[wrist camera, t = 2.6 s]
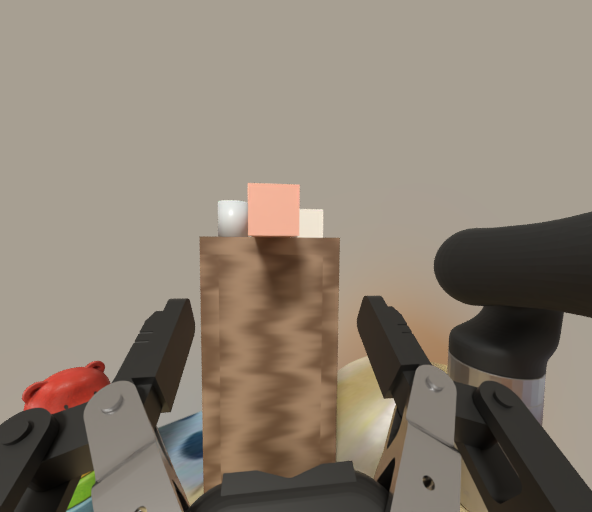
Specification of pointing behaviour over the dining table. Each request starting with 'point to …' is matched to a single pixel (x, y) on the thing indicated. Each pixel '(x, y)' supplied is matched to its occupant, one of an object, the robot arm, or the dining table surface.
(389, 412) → the dining table surface
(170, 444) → the dining table surface
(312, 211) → the off-white block brick
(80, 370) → the stacking bear
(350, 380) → the dining table surface
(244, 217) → the grey-blue round brick
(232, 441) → the walnut shelf
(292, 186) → the coral bar brick
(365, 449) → the dining table surface
